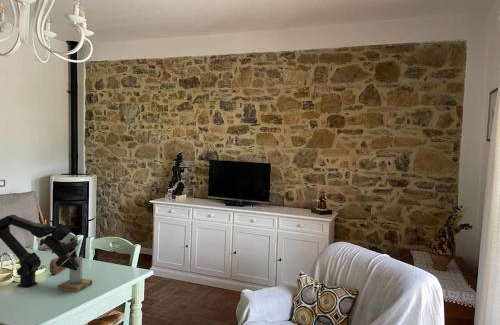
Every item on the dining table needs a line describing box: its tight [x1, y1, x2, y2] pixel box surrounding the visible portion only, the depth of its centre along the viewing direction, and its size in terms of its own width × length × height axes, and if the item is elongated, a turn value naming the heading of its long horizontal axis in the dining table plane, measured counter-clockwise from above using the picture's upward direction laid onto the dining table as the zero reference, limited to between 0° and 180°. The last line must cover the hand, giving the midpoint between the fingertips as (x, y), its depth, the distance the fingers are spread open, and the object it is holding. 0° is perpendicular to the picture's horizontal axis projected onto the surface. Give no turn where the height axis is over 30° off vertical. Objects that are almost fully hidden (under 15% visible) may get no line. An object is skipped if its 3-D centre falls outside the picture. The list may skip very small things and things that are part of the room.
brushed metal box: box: [68, 256, 84, 285], centre depth 194 cm, size 5×5×12 cm
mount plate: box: [57, 278, 93, 293], centre depth 195 cm, size 12×11×2 cm
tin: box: [49, 255, 66, 275], centre depth 215 cm, size 15×3×8 cm, turn 179°
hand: (78, 266), depth 195 cm, fingers open, 9 cm apart
